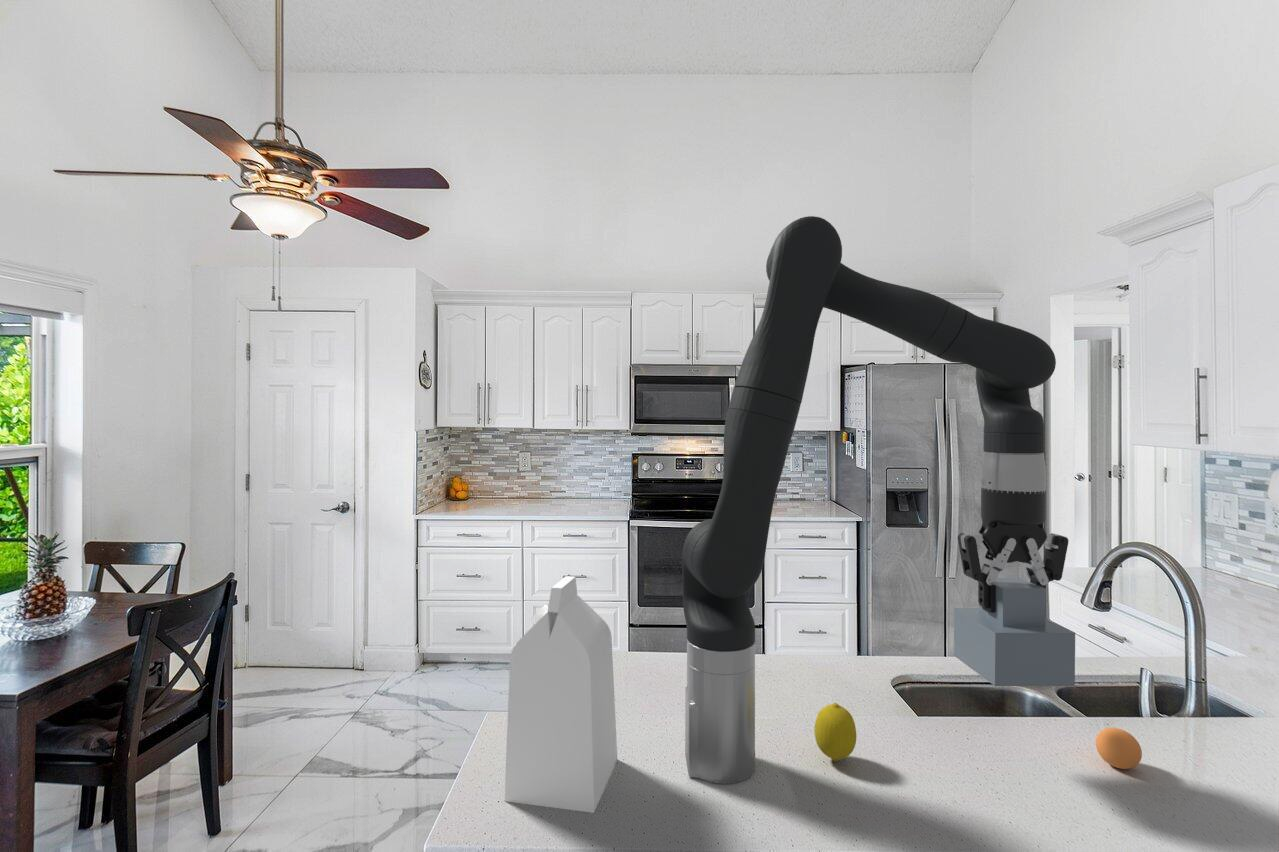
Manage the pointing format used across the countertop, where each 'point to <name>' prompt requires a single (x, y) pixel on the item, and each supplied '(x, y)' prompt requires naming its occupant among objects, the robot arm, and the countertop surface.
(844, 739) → the lemon
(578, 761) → the milk
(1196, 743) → the countertop surface
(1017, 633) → the gray stepped step block
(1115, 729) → the brown egg
